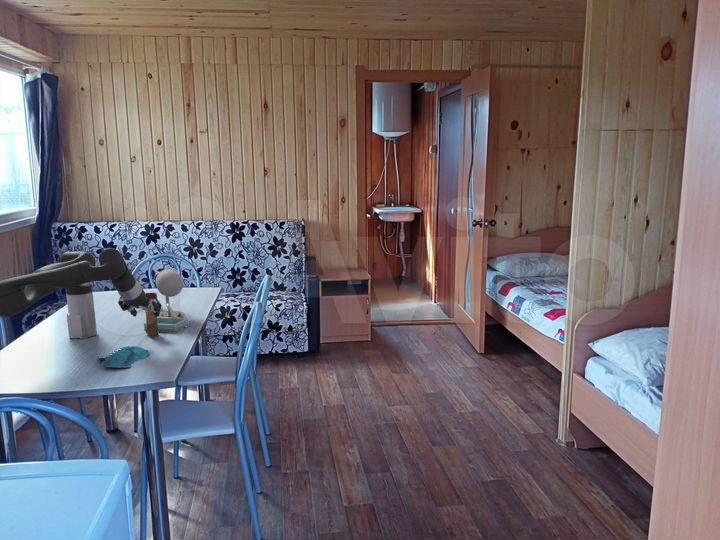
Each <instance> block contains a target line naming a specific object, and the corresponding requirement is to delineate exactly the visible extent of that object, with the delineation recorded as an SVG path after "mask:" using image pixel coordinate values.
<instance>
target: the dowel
mask: <svg viewBox="0 0 720 540" xmlns="http://www.w3.org/2000/svg"><path fill="white" fill-rule="evenodd" d="M152 308H154V307H152ZM144 311H145V320H146V321H145V323H147V331H146V333H147V337H148V338H153V337H154V338H155V337H158V336H159V332H158V324H157V317H156V316H155V315H154V313H153V312H152V311H150V310H149V311H148V310H146V309H145V310H144Z"/></svg>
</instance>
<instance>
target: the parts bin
mask: <svg viewBox="0 0 720 540" xmlns="http://www.w3.org/2000/svg"><path fill="white" fill-rule="evenodd" d="M157 324H158V333H161V332H162V333H163V332H164V333H174V332H175V333H178V332H180V331H181V329H182V328H183V329H185V328H187V327H189V326H190V325H189V318H185V317H184V318H176V320H175V321H172V318H168V317H157ZM188 325H189V326H188ZM186 326H187V327H186ZM184 327H185V328H184ZM143 329H144V331H146V332H147V323H146V322H145V323H143ZM183 329H182V330H183ZM179 330H180V331H179Z"/></svg>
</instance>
